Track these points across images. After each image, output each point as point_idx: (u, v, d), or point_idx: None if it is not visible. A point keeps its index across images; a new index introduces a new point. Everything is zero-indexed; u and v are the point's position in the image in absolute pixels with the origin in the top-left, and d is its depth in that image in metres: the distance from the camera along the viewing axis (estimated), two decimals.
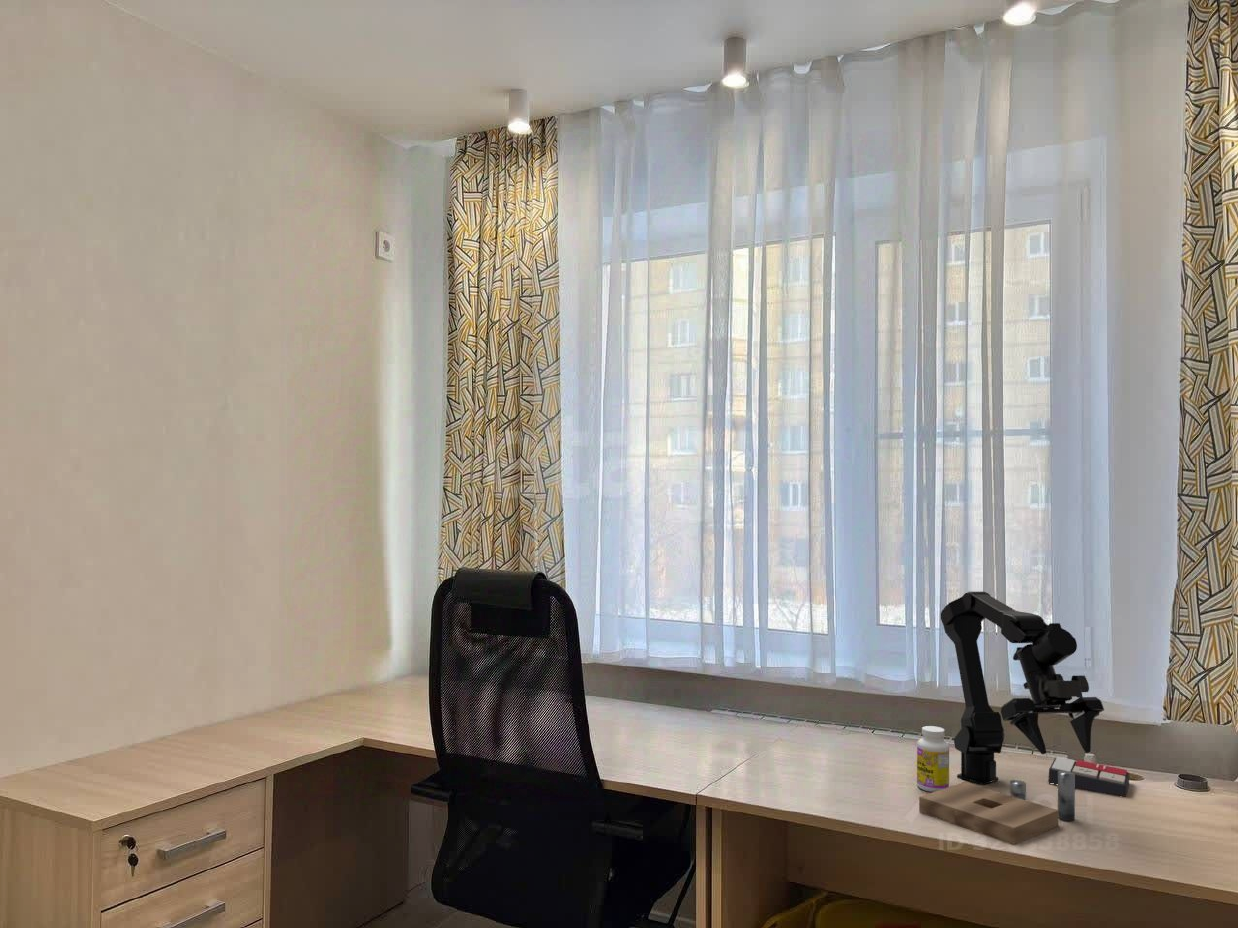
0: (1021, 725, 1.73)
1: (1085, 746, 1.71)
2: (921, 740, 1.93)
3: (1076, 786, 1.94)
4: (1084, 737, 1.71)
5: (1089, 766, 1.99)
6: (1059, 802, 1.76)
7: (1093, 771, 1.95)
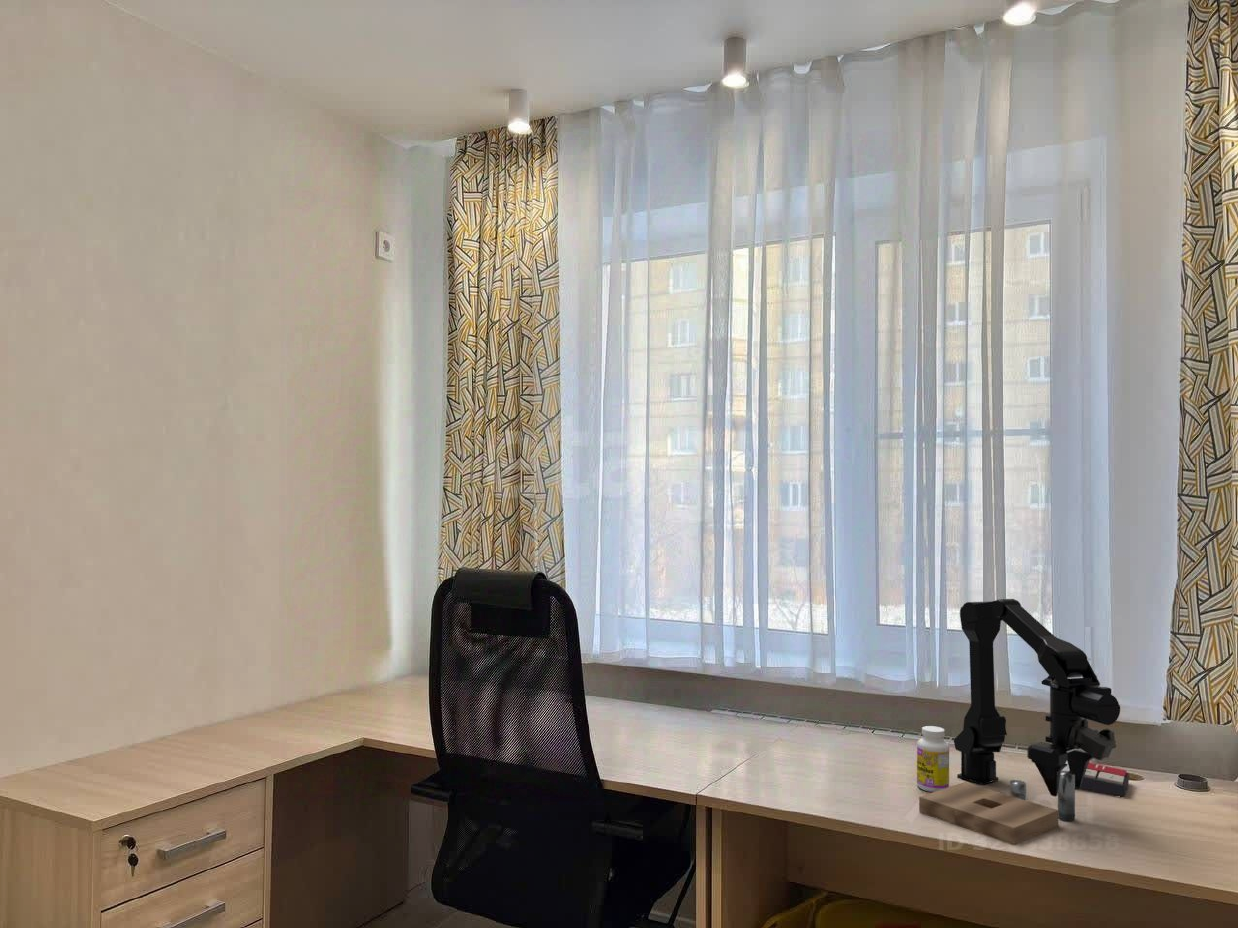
0: (1041, 764, 1.74)
1: (1076, 781, 1.79)
2: (921, 740, 1.93)
3: None
4: (1079, 773, 1.78)
5: (1088, 766, 1.99)
6: (1059, 802, 1.76)
7: (1092, 771, 1.95)
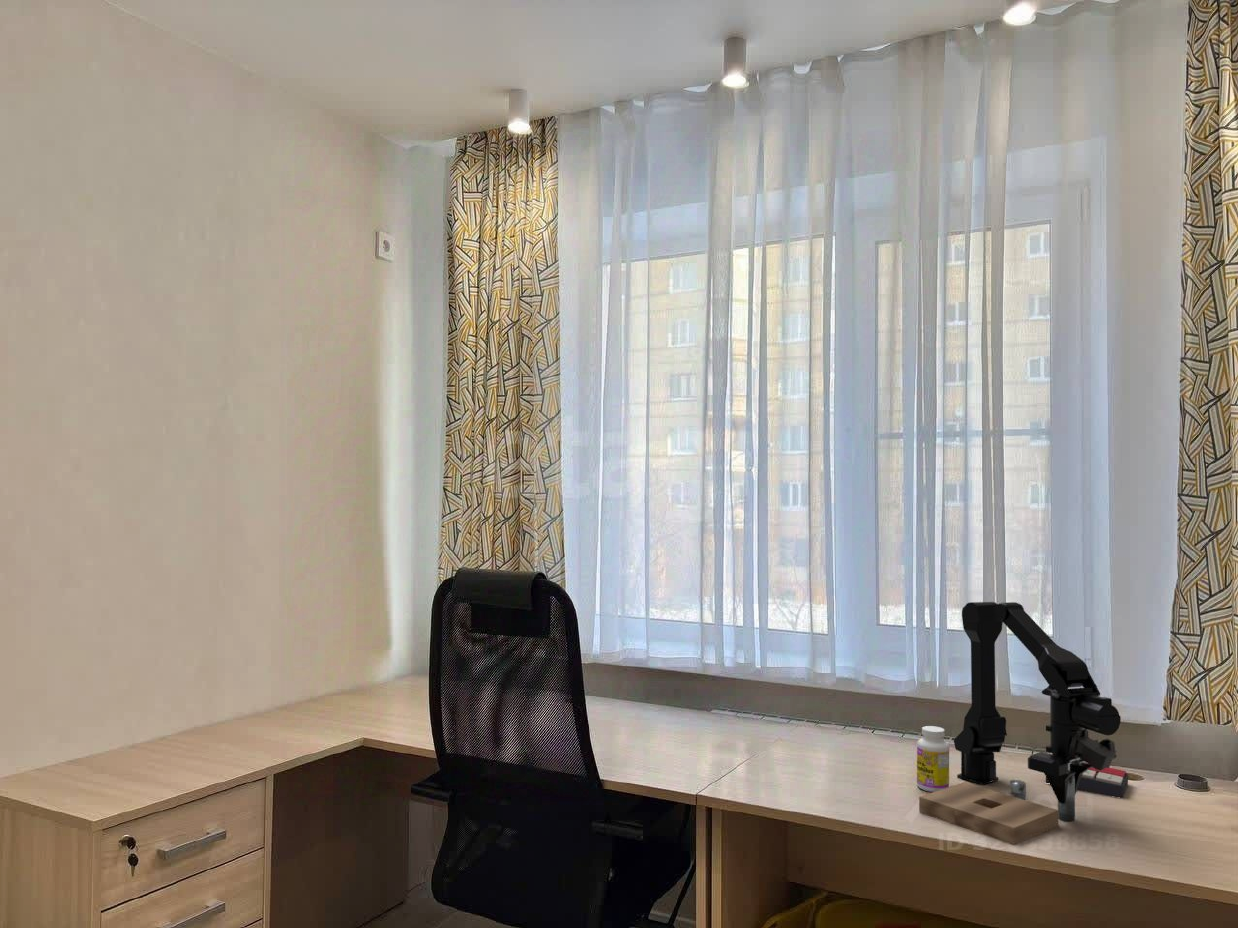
0: None
1: None
2: (921, 740, 1.93)
3: None
4: None
5: None
6: None
7: (1090, 772, 1.95)
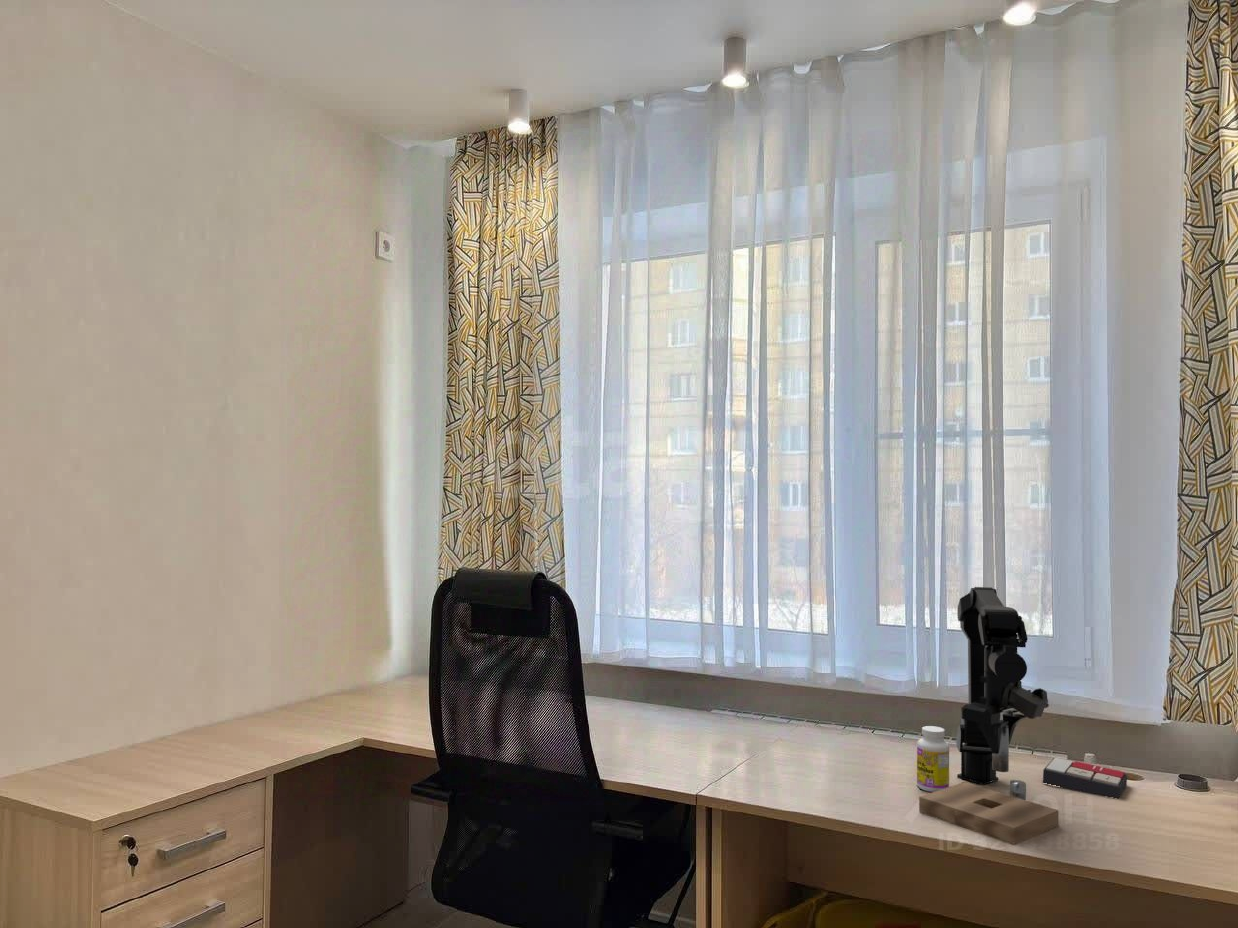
0: (982, 722, 1.75)
1: None
2: (921, 740, 1.93)
3: (1070, 787, 1.93)
4: None
5: (1085, 767, 1.98)
6: (993, 753, 1.75)
7: (1088, 772, 1.94)
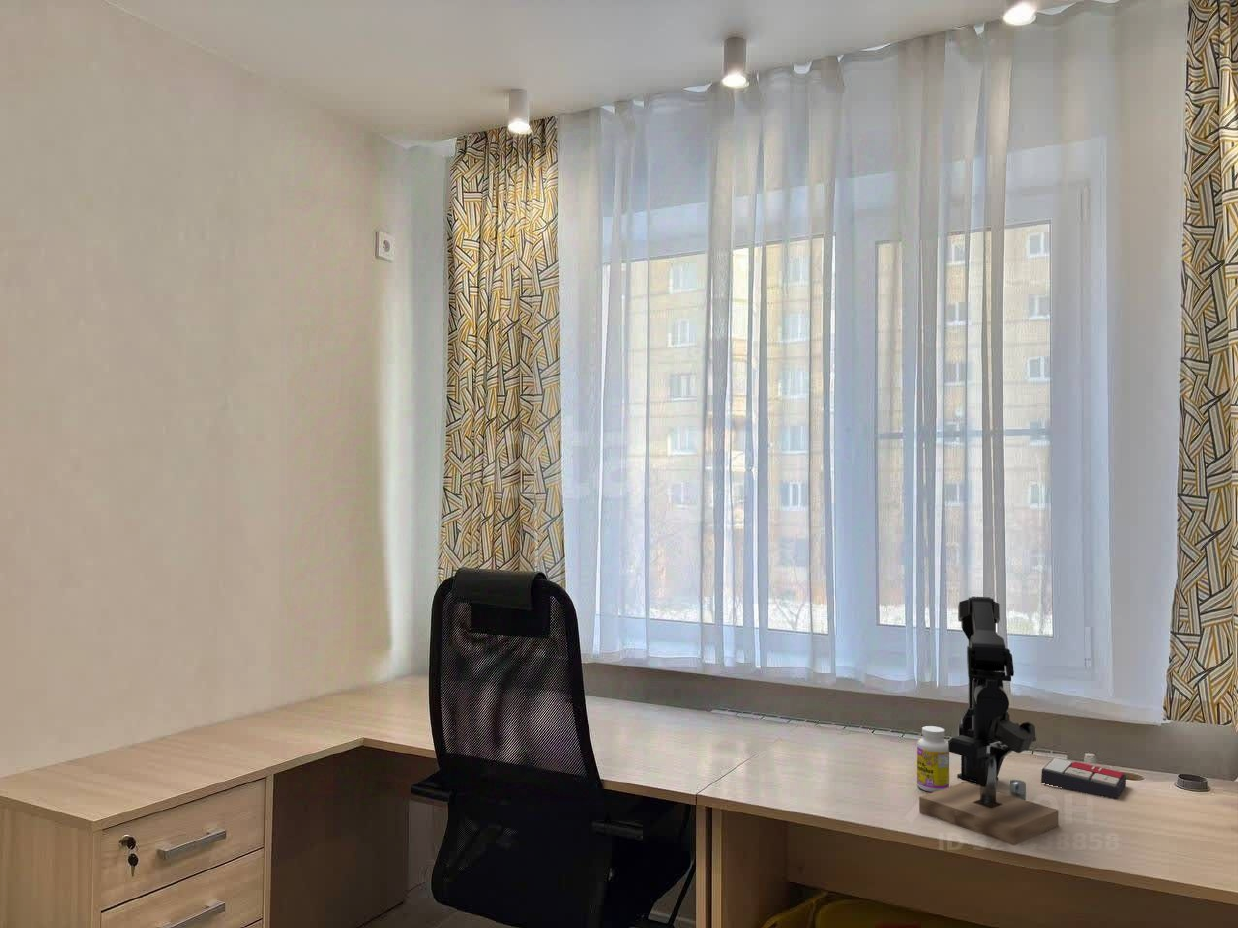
0: None
1: None
2: (921, 740, 1.93)
3: (1068, 787, 1.93)
4: None
5: (1084, 767, 1.98)
6: None
7: (1087, 773, 1.94)
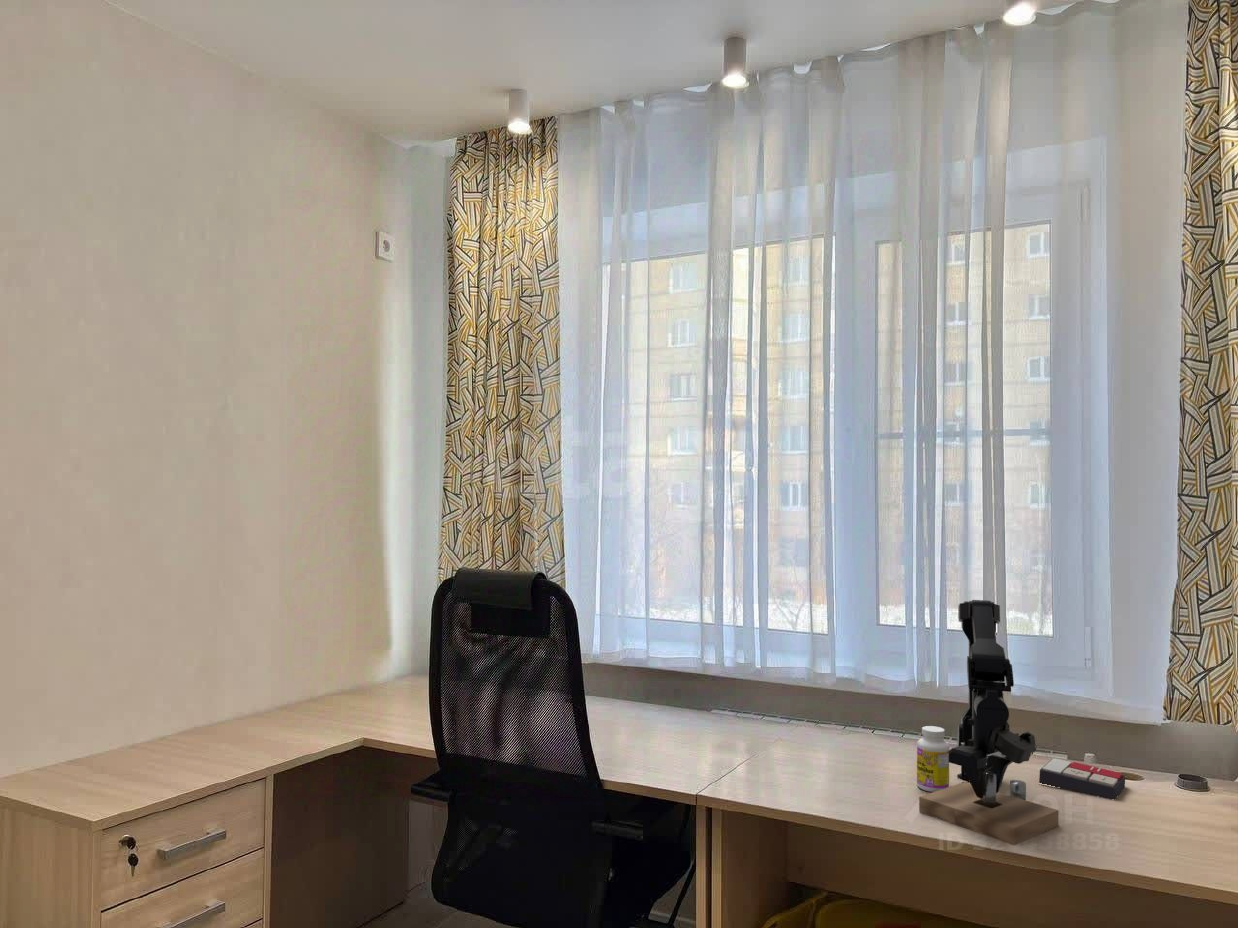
0: (967, 766, 1.74)
1: None
2: (921, 740, 1.93)
3: (1066, 787, 1.93)
4: (997, 779, 1.77)
5: (1083, 768, 1.97)
6: (981, 802, 1.75)
7: (1085, 773, 1.94)
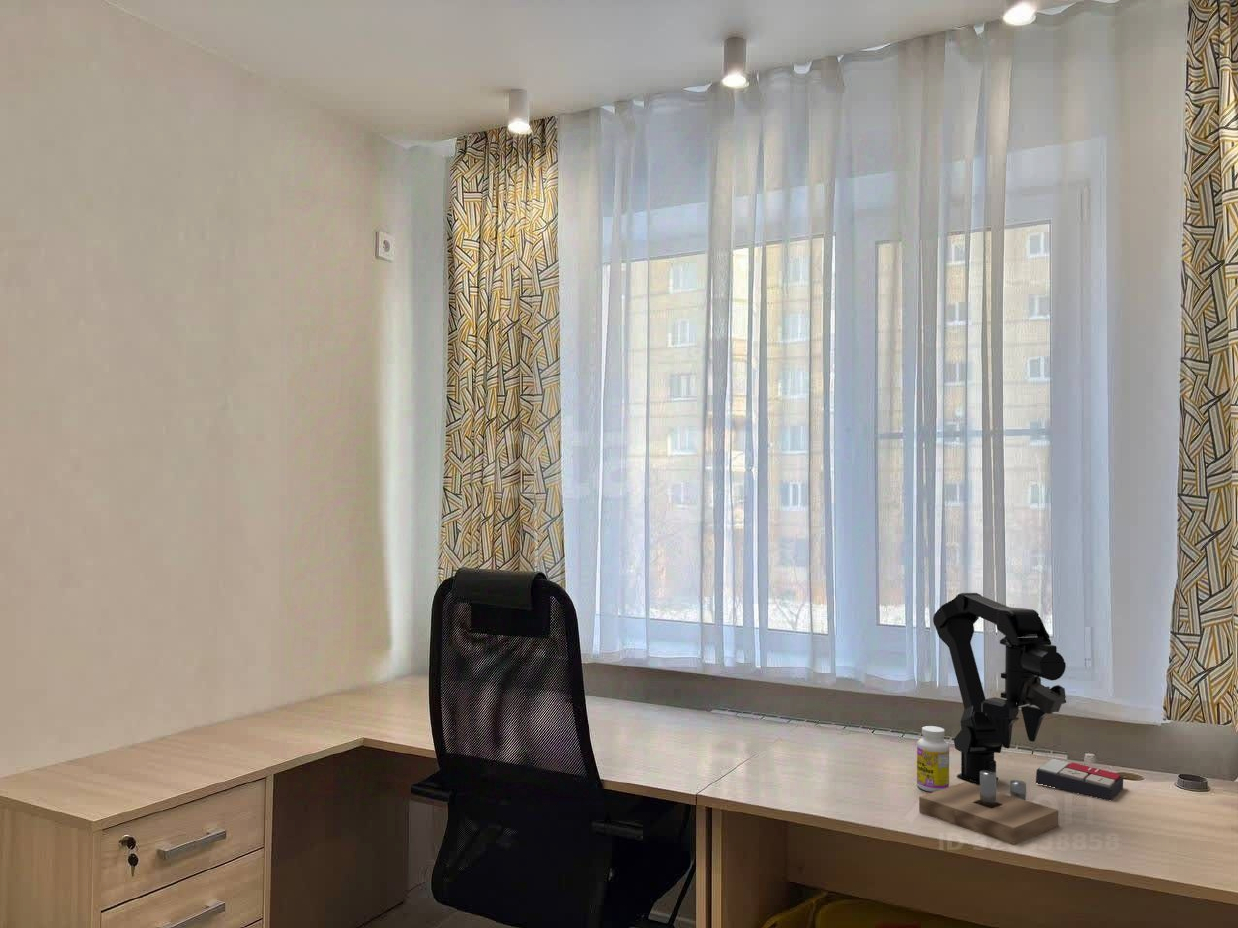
0: (994, 718, 1.83)
1: (1031, 735, 1.88)
2: (921, 740, 1.93)
3: (1062, 788, 1.93)
4: (1033, 728, 1.88)
5: (1081, 768, 1.97)
6: (981, 802, 1.75)
7: (1082, 773, 1.94)
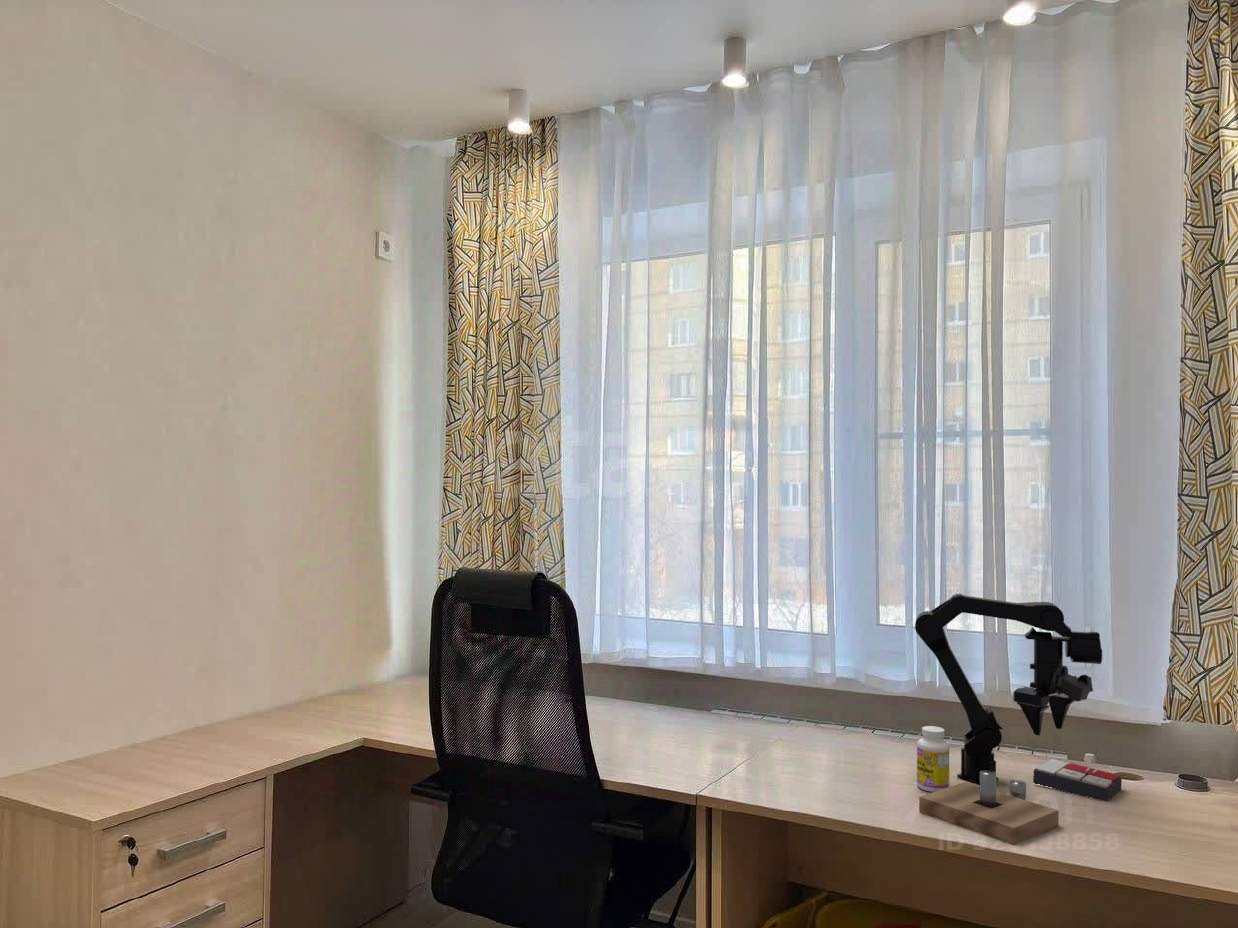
0: (1025, 707, 1.93)
1: (1058, 723, 1.98)
2: (921, 740, 1.93)
3: (1059, 788, 1.93)
4: (1060, 716, 1.98)
5: (1079, 769, 1.97)
6: (981, 802, 1.75)
7: (1079, 774, 1.93)
